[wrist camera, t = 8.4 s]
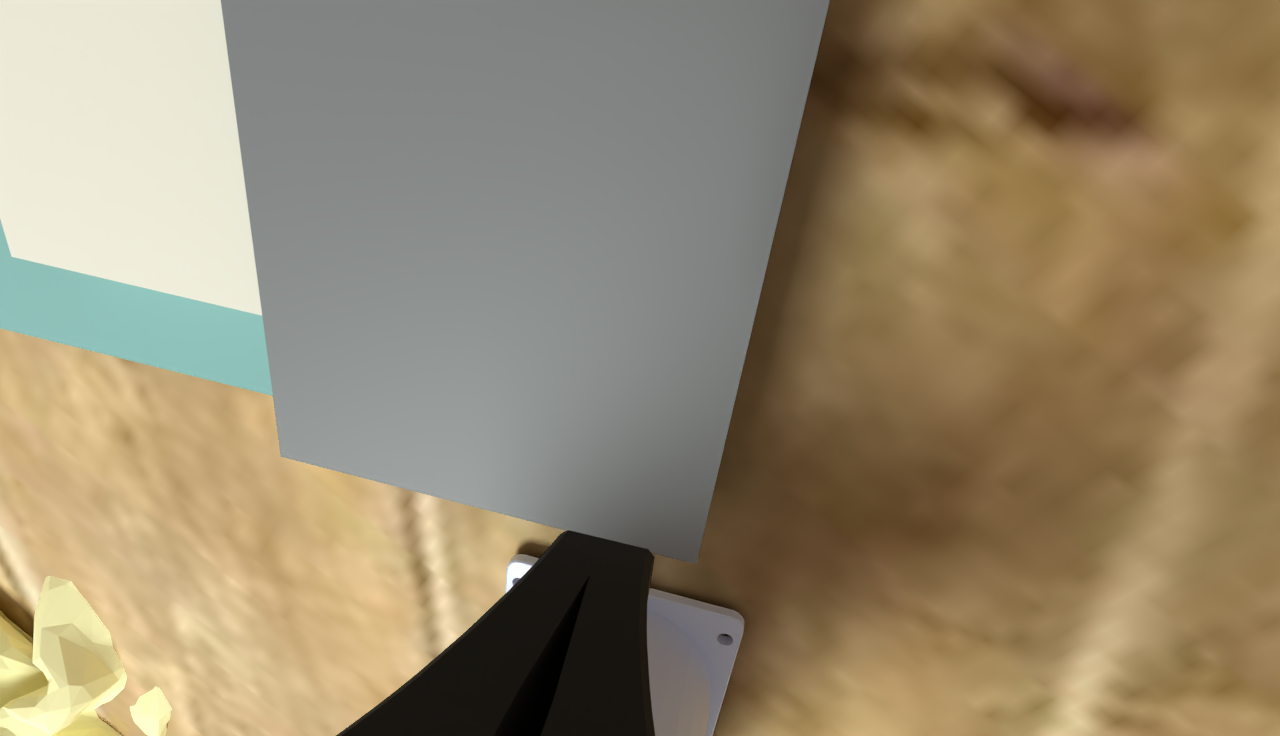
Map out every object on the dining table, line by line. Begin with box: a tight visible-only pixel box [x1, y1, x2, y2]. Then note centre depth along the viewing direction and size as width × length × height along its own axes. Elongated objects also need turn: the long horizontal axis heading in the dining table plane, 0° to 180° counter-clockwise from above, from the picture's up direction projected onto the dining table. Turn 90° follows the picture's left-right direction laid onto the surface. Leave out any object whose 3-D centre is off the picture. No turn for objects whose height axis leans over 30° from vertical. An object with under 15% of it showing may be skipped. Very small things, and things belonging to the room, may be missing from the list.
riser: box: [221, 0, 830, 564], centre depth 16 cm, size 16×12×3 cm
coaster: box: [0, 0, 262, 316], centre depth 18 cm, size 8×8×2 cm
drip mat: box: [0, 220, 273, 396], centre depth 19 cm, size 16×12×1 cm
